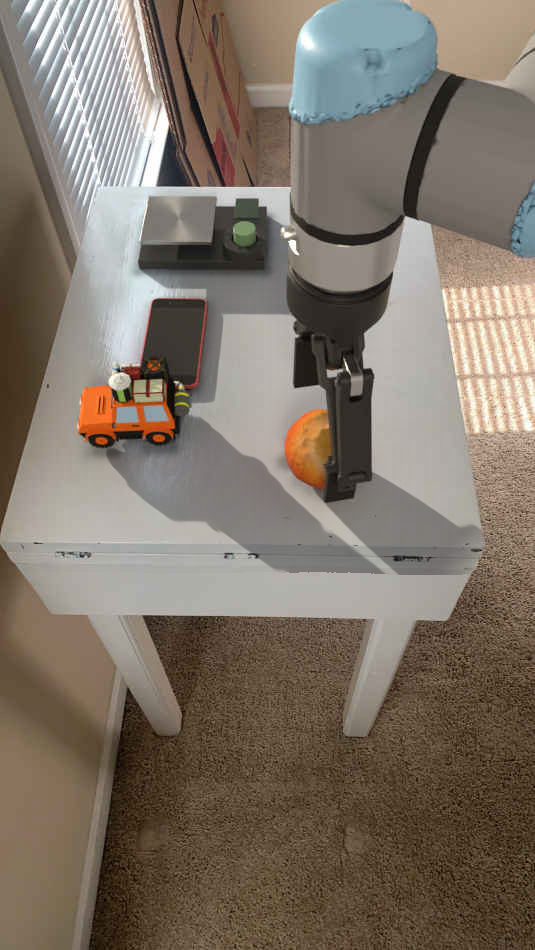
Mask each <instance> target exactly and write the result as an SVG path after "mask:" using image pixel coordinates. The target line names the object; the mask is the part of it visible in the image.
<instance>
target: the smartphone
mask: <svg viewBox="0 0 535 950" xmlns="http://www.w3.org/2000/svg"><path fill="white" fill-rule="evenodd" d="M208 305H209V303H208V301H207V300H206V299H205V298H193V297H192V298H191V297H190V298H189V297H188V298H187V297H159V298H158V297H157V298H154V299H152V301H151V303H150V308H149V312H148V317H147V324H146V329H145V335H144V341H143V346H142V351H141V356H140V362H139V364H141V363H142V361H143V358H144V357H146V358H147V357H150V356H155V355H158V356H161V357H163V356H164V357H165V359H166V362H167V363H168V369H169V374H170V376H171V378H172V379H173V381H177V382H181V383H182V385H183V386H184V390H192V389H195V388H196V387H197V386H198V385H199V381H200V373H201V365H202V358H203V357H202V356H203V348H204V341H205V340H204V339H205V332H206V324H207V315H208V308H209V307H208ZM175 389H176V390H179V388H178V387H177V386H175Z"/></svg>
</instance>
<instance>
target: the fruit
mask: <svg viewBox="0 0 535 950" xmlns="http://www.w3.org/2000/svg"><path fill="white" fill-rule="evenodd" d="M283 446H284V447H283V449H284V457H285V462H286V463H287V465H288V468H289V470H290V471H291V473H292V474H293V476H294V477H295V478H296V479H297V480H299V481H300V482H302V483H304V484H306V485H307V486H310V487H312V488H314V489H317V490H321V491H324V484H325V476H326V472H325V469H324V464H326V463H327V461H328V456H332V452H331V442H330V431H329V421H328V410H327V409H323V408H316V409H313V410H309V411H307V412H305V413H304V414H302V415H301V416H300V417H299V418H298V419H297V420H295V421H294V423H293V424H292V425H290V426H289V429H288V431H287V433H286V437H285V439H284V445H283Z"/></svg>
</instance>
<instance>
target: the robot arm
mask: <svg viewBox="0 0 535 950" xmlns="http://www.w3.org/2000/svg"><path fill="white" fill-rule="evenodd" d="M437 50H438V31H437V29H436V27H435V25H434V23H433V21H432V20H431V19H430V18H429V16H428V15H426V14H425V13H424V12H422V11H418V10H413V8H412V6H410V5H409V4H408V3H406V2H404V1H400V0H337V1H335V2H331V3H329V4H326V5H325V6H323V7H321V8H319V9H318V10H316V12H315V13H314V14H313V15H312V16H311V17H310V18H309V19H306V22H304V24H303V25H302V27H301V29H300V31H299V33H298V35H297V39H296V45H295V54H294V66H293V75H292V76H293V78H292V87H291V97H290V99H289V101H290V102H289V103H288V113H289V116H290V118H291V119H290V192H289V214H288V215H289V220H290V223H289V225H285V226H282V227H281V228H280V230H279V231H280V239H281V240H282V241H283V242H285V243H287V242H288V260H287V265H286V293H285V294H286V297H285V298H286V304H287V308H288V309H289V313H290V315H291V317H294V319H295V321H294V322H293V326H292V328H293V332H294V333H295V335H297V336H298V337H294V347H293V371H292V385H293V388H294V389H295V390H296V389H301V388H308V387H315V386H320V388H322V389H323V390H325V398H326V399H325V401H326V410H328V421H329V431H330V442H331V452H332V456H328V461H327V463H326V464H324V469H325V472H326V476H325V484H324V490H323V491H322V492H323V493H322V498H323V501H324V504H329V503H335V502H342V501H346V500H347V501H348V500H353V499H355V494H356V489H357V486H358V485H357V484H362V483H368V482H372V481H373V441H372V440H373V436H372V434H373V433H372V432H373V431H372V430H373V429H372V428H373V426H372V422H373V421H372V415H373V414H372V412H373V411H372V397H373V390H374V382H375V381H374V380H375V373H374V370H373V369H372V368H371V367H367V368H364V357H363V354H364V353H363V352H364V350H365V349H366V341H365V339H366V338H365V333H366V332H367V331H369V330H370V329H371V328H373V326H375V325H376V324H377V323H378V322H379V321H380V320H381V319H382V318H383V316H384V314H385V313H386V310H387V307H388V303H389V298H390V293H391V288H392V284H393V279H394V278H393V277H394V269H395V267H396V263H397V261H398V257H399V250H400V245H401V241H402V235H403V230H404V229H403V228H404V226H405V225H404V224H405V219H406V218H410V219H413V220H416V221H417V222H419V221H421V222H424V223H427V224H430V225H432V226H435V227H439V228H442V229H444V230H447V231H451V232H453V233H456V234H458V235H462V236H465V237H468V238H471V239H474V240H477V241H479V242H482V243H484V244H488V245H491V246H493V247H495V248H499V249H502V250H505V251H507V252H510V253H513V255H514V256H516V257H518V258H521V259H525V258H526V259H535V30H534V31H533V32H532V35H531V37H530V39H529V40H528V42H527V44H526V45H525V47H524V49H523V50H522V52H521V54H520V55H519V57H518V58H517V60H516V61H515V63H514V64H513V66H512V68H511V69H510V71H509V72H508V74H507V76H506V77H505V79H504V80H503V82H502V83H501V84H500V85H497V84H494V83H488V82H486V81H482V80H477V79H473V78H471V77H470V78H467V77H465V76H461V75H457V74H456V73H454V72H450V71H446V70H442V69H440V68H438V64H439V59H438V58H439V55H438V53H437ZM340 370H342V371H340ZM328 371H332V372H333V371H338V372H337V373H336V376H331V377H328ZM339 371H340V372H339Z"/></svg>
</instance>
